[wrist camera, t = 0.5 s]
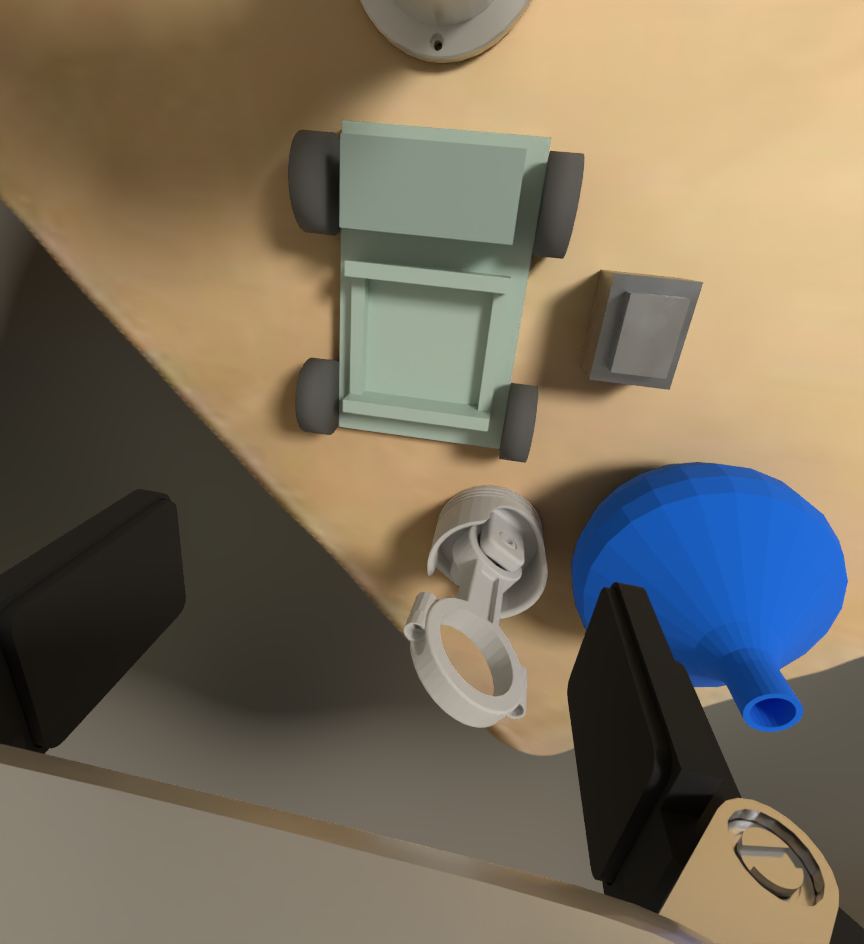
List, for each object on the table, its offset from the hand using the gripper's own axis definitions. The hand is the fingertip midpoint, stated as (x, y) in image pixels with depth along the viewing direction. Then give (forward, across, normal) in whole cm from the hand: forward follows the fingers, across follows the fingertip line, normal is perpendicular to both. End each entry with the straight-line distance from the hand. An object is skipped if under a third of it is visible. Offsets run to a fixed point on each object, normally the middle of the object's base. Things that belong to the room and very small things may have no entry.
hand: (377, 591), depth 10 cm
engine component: (+32, -4, +17) cm, 36 cm away
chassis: (+32, +4, -3) cm, 32 cm away
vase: (+32, -20, +13) cm, 40 cm away
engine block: (+32, -11, -4) cm, 34 cm away
